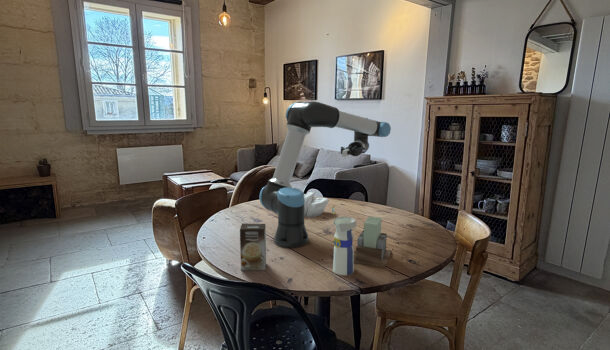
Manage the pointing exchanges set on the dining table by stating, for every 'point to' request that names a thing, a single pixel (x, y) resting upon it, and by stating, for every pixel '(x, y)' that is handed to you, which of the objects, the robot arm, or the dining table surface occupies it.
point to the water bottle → (343, 245)
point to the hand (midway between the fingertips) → (343, 153)
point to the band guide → (372, 252)
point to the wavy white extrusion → (314, 205)
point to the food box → (253, 246)
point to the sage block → (372, 231)
